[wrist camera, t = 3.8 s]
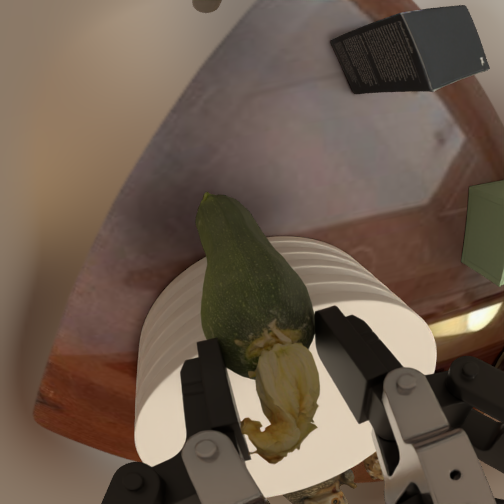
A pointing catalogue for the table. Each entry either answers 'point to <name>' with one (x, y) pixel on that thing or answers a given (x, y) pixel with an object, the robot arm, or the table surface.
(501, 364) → the ceramic jug
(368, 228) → the table surface
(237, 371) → the vegetable
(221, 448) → the robot arm
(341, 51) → the box
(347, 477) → the figurine
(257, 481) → the plate stack
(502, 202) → the bin
